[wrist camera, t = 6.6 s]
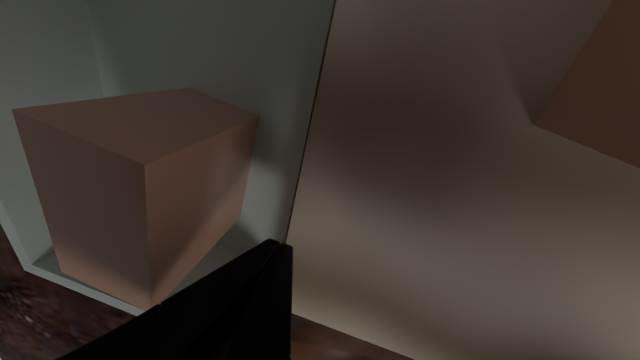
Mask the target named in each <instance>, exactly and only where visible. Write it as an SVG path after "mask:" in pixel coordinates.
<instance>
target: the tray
mask: <svg viewBox="0 0 640 360" xmlns="http://www.w3.org/2000/svg"><path fill="white" fill-rule="evenodd" d="M336 1H337V0H0V223H1V225H2V227H3V229H4V231H5V233H6V235H7V237H8V239H9V241H10V243H11V245H12V247H13V249H14V251H15V253H16V255H17V257H18V259H19V261H20V263H21V264H22V266H23V268H24V270H25V271H28V272H30V273H33V274H35V275H38V276H40V277H43V278H45V279H47V280H50V281H52V282H55V283H57V284H60V285H62V286H65V287H67V288H70V289H72V290H74V291H77V292H79V293H82V294H84V295H87V296H89V297H92V298H94V299H96V300H99V301H101V302H104V303H106V304H109V305H111V306H114V307H116V308H119V309H121V310H123V311H126V312H128V313H131V314H133V315H136V316H138V315H140V314H142V313H143V312H145V310H143V309H141V308H139V307H136V306H134V305H132V304H130V303H128V302H126V301H123V300H121V299H119V298H117V297H115V296H113V295H110V294H108V293H106V292H104V291H102V290H99V289H97V288H95V287H93V286H91V285H89V284H86V283H84V282H82V281H80V280H78V279H76V278H73V277H71V276H69V275H67V274H65V273H63V272H61V269H60V266H59V262H58V259H57V256H56V253H55V249H54V246H53V243H52V240H51V236H50V233H49V230H48V227H47V223H46V220H45V217H44V214H43V210H42V207H41V204H40V201H39V197H38V194H37V191H36V188H35V184H34V181H33V178H32V175H31V171H30V168H29V165H28V162H27V158H26V155H25V152H24V149H23V145H22V142H21V139H20V136H19V132H18V129H17V126H16V123H15V119H14V116H13V113H12V110H11V109H17V108H25V107H33V106H41V105H49V104H58V103H66V102H74V101H82V100H90V99H98V98H106V97H115V96H123V95H131V94H139V93H147V92H155V91H163V90H172V89H180V88H191V89H193V90H196V91H198V92H201V93H203V94H206V95H208V96H211V97H214V98H216V99H219V100H221V101H224V102H226V103H229V104H231V105H234V106H236V107H239V108H242V109H244V110H247V111H249V112H252V113H254V114H257V115H259V116H260V119H259V124H258V129H257V134H256V139H255V144H254V149H253V155H252V160H251V165H250V170H249V175H248V180H247V185H246V190H245V195H244V200H243V205H242V210H241V216H240V218H239V219H238V220H237V221H236V222H235V223H234V224H233V225H232V227H231V228H230V229H229V230H228V231H227V232H226V233H225V234H224V235H223V236H222V237H221V238H220V239H219V241H218V242H217V243H216V244H215V245H214V246H213V247H212V248H211V249H210V250H209V251H208V252H207V253H206V255H205V256H204V257H203V258H202V259H201V260H200V261H199V262H198V263H197V264H196V265H195V266H194V267H193V269H192V270H191V271H190V272H189V273H188V274H187V275H186V276H185V277H184V278H183V279H182V280H181V281H180V283H179V284H178V285H177V286H176V287H175V288H174V289H173V290H172V291H171V292H170V293H169V294H168V295H167V297H166V298H165V299H167V298H169V297H170V296H172V295H174V294H175V293H177V292H179V291H181V290H182V289H184V288H186V287H187V286H189V285H191V284H192V283H194V282H196V281H197V280H199V279H201V278H202V277H204V276H206V275H207V274H209V273H211V272H212V271H214V270H216V269H218V268H219V267H221V266H223V265H224V264H226V263H228V262H229V261H231V260H233V259H234V258H236V257H238V256H239V255H241V254H243V253H244V252H246V251H248V250H249V249H251V248H253V247H255V246H256V245H258V244H260V243H261V242H263V241H265V240H266V239H268V238H271V239H274V240H277V241H280V243H286V240H287V235H288V230H289V226H290V221H291V216H292V211H293V206H294V202H295V197H296V192H297V187H298V182H299V178H300V173H301V168H302V163H303V158H304V154H305V149H306V144H307V139H308V135H309V130H310V125H311V120H312V115H313V111H314V106H315V101H316V96H317V91H318V87H319V82H320V77H321V72H322V68H323V63H324V58H325V53H326V48H327V44H328V39H329V34H330V29H331V24H332V20H333V15H334V10H335V5H336ZM165 299H164V300H165ZM164 300H163V301H164ZM160 304H161V303H160Z"/></svg>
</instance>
